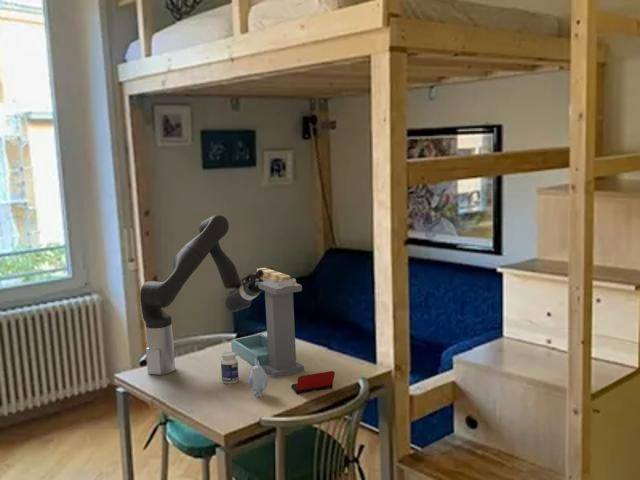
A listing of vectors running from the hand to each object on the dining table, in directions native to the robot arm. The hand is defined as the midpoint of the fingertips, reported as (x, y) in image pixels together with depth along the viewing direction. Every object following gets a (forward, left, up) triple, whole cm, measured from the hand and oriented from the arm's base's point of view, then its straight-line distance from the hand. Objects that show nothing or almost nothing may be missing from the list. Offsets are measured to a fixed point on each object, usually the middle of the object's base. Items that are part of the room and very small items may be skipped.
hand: (267, 271), depth 231 cm
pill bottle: (-20, +6, -35) cm, 41 cm away
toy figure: (-28, -10, -35) cm, 46 cm away
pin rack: (-6, -8, -35) cm, 36 cm away
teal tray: (+6, +9, -35) cm, 37 cm away
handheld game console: (-17, -25, -36) cm, 47 cm away
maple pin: (-3, -4, -3) cm, 6 cm away
